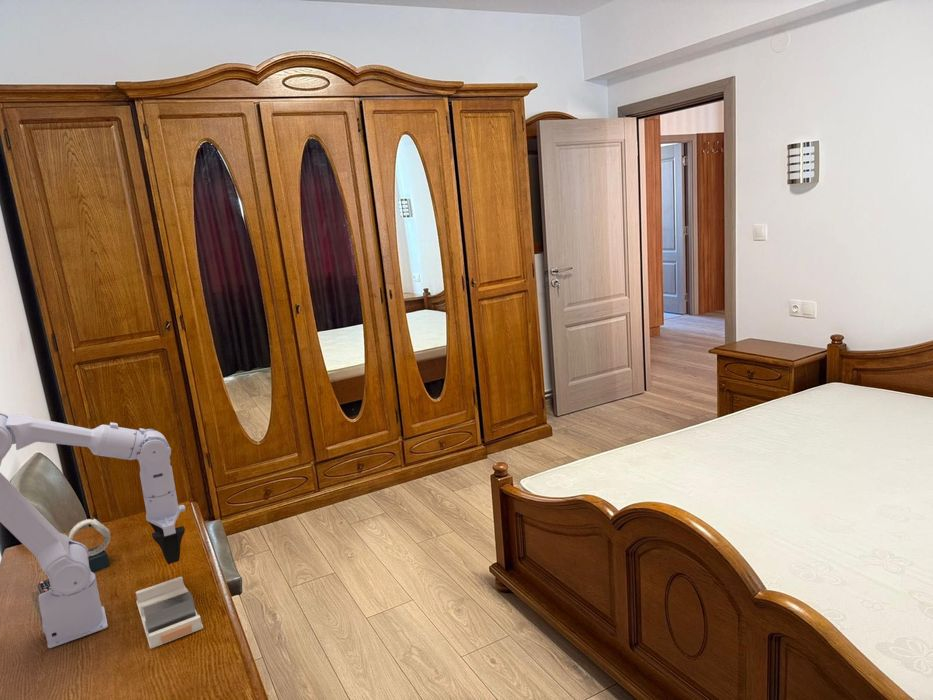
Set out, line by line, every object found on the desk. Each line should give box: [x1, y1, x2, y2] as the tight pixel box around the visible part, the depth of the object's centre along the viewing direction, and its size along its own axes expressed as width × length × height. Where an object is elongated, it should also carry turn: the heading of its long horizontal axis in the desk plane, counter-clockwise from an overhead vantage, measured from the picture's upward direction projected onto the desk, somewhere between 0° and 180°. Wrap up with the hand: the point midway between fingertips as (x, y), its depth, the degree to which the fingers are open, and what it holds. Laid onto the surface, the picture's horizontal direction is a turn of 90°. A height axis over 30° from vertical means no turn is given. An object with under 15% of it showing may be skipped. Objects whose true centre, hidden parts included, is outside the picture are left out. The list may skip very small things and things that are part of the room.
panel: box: [143, 590, 196, 635], centre depth 114 cm, size 8×3×5 cm, turn 125°
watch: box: [67, 518, 112, 574], centre depth 138 cm, size 6×8×11 cm
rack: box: [135, 575, 204, 650], centre depth 119 cm, size 9×18×2 cm, turn 35°
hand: (170, 553), depth 124 cm, fingers open, 7 cm apart
